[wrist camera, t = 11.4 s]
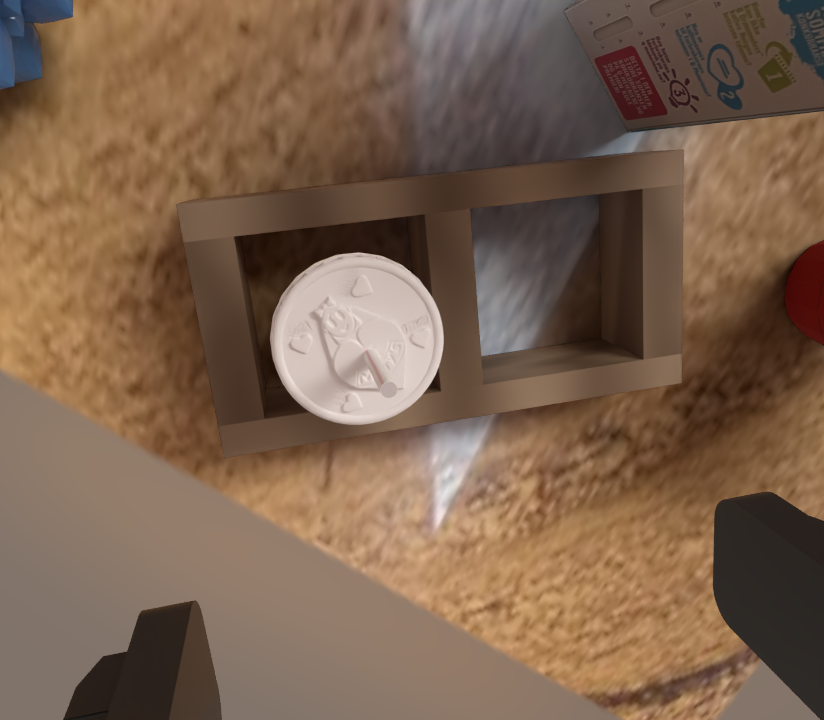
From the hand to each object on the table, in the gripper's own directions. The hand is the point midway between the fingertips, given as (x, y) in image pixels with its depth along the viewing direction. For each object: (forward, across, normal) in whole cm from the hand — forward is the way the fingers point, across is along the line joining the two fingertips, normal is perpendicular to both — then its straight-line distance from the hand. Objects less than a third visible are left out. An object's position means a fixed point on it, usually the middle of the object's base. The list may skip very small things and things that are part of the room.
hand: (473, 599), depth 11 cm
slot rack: (+25, -5, 0) cm, 26 cm away
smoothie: (+25, 0, 0) cm, 25 cm away
